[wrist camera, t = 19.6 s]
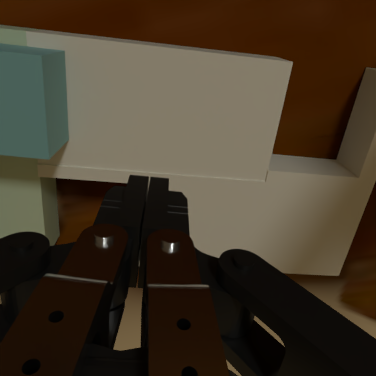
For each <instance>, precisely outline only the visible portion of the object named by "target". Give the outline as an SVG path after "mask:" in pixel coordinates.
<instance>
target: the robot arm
mask: <svg viewBox="0 0 376 376" xmlns="http://www.w3.org/2000/svg"><path fill="white" fill-rule="evenodd" d="M148 185H149V189H148ZM139 263H140V266H139ZM138 270H139V280H138V288H143V297H142V309H141V348H135V349H129V350H124V351H118V350H113V348H114V344H115V340H116V336H117V333H118V329H119V326H120V322H121V319H122V315H123V311H124V307H125V299H126V297H127V294H128V288H129V287H134V288H135V287H136V283H137V276H138ZM0 295H1V301H2V304H0V376H237V375H236V374H235V373H233V372H232V371H230V370H229V369H228V367H227V363H226V360H227V361H228V362H229V363H230V364H231V365H232V366H233V367H234V368H235V369H236V370H237V371H238V372H239V373H240V374H241V375H242V376H376V339H375V338H374V337H372V336H371V335H369V334H368V333H367V332H365V331H364V330H362V329H361V328H360V327H358V326H357V325H355V324H354V323H352V322H351V321H350V320H348V319H347V318H345V317H344V316H343V315H341V314H340V313H338V312H337V311H336V310H334V309H332V308H331V307H330V306H329V305H327V304H326V303H324V302H323V301H321V300H320V299H318V298H317V297H316V296H314V295H313V294H312V293H310V292H309V291H307V290H306V289H305V288H303V287H302V286H300V285H299V284H297V283H296V282H295V281H293V280H292V279H290V278H289V277H288V276H286V275H285V274H283V273H282V272H281V271H279V270H278V269H276V268H275V267H274V266H272V265H271V264H269V263H268V262H266V261H265V260H264V259H262V258H261V257H259V256H258V255H256V254H255V253H253V252H250V251H247V250H243V249H230V250H227V251H225V252H223V253H222V254H221V255H220V257H219V258H217V257H214V256H210V255H207V254H205V253H203V252H201V251H199V250H198V249H197V248H195V247H194V243H193V240H192V239H191V238H190V233H189V216H188V200H187V198H186V197H185V195H184V194H183V193H182V192H177V191H169V178H161V177H150V182H149V176H140V175H130V176H129V179H128V183H127V186H126V187H123V186H114V187H112V188H111V189H109V190H108V191H107V192H106V194H105V197H104V199H103V202H102V204H101V207H100V209H99V212H98V214H97V217H96V219H95V222H94V224H93V226H90V227H88V228H86V229H85V230H83V231H82V233H81V234H80V236H79V237H78V239H77V241H76V242H73V243H68V244H62V245H53V246H50V242H49V239H48V238H47V237H46V236H45V235H43V234H41V233H37V232H27V231H26V232H18V233H14V234H10V235H8V236H5V237H3V238H0ZM254 316H256V317H258V318H259V319H260V320H261V321H262V322H263V323H265V324H266V325H267V326H268V327H269V328H270V329H271V330H273V331H274V332H275V333H276V334H277V335H278V336H279V337H280V338H281V340H282V341H283V343H284V346H285V347H284V346H283V345H282V344H281V343H279V342H278V341H277V340H276V339H275V338H274V337H273V336H272V335H270V334H269V333H268V332H267V331H266V330H265V329H264V328H262V327H261V326H260V325H259V324H258V323H257V322H256V321H255V320H253V319H254Z"/></svg>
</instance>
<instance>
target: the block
mask: <svg viewBox="0 0 376 376" xmlns="http://www.w3.org/2000/svg"><path fill="white" fill-rule="evenodd" d="M68 140H69V131H68V109H67V88H66V66H65V51H63V50H54V49H46V48H37V47H28V46H20V45H11V44H3V43H0V155H5V156H16V157H26V158H37V159H47V160H49V159H50V158H51V157H52V156H53V155H54V154H55V153H56V152H57V151H58V150H59V149H60V148H61V147H62V146H63V145H64V144H65V143H66V142H67V141H68Z"/></svg>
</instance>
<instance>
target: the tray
mask: <svg viewBox="0 0 376 376" xmlns="http://www.w3.org/2000/svg"><path fill="white" fill-rule="evenodd" d="M0 43H3V44H11V45H20V46H28V47H37V48H46V49H54V50H63V51H65V66H66V88H67V109H68V131H69V140H68V141H67V142H66V143H65V144H64V145H63V146H62V147H61V148H60V149H59V150H58V151H57V152H56V153H55V154H54V155H53V156H52V157H51V158H50V159H49V160H47V159H37V158H26V157H16V156H5V155H0V238H3V237H5V236H8V235H10V234H14V233H18V232H26V231H27V232H37V233H41V234H43V235H45V236H46V237H47V238H48V239H49V242H50V246H53V245H55V243H56V241H57V239H58V237H59V220H58V205H57V191H56V178H63V179H77V180H90V181H104V182H117V183H128V179H129V176H130V175H140V176H149V182H150V177H161V178H169V191H177V192H182V193H183V194H184V195H185V197H186V198H187V200H188V216H189V233H190V238H191V239H192V240H193V243H194V247H195V248H197V249H198V250H199V251H201V252H203V253H205V254H207V255H210V256H214V257H217V258H219V257H220V255H221V254H222V253H223V252H225V251H227V250H230V249H243V250H247V251H250V252H253V253H255V254H256V255H258V256H259V257H261V258H262V259H264V260H265V261H266V262H268V263H269V264H271V265H272V266H274V267H275V268H276V269H278V270H279V271H281V272H282V273H289V274H309V275H329V276H330V275H331V276H339V274H340V271H341V269H342V266H343V263H344V261H345V258H346V256H347V253H348V251H349V248H350V246H351V243H352V240H353V238H354V235H355V233H356V230H357V228H358V225H359V222H360V220H361V217H362V215H363V212H364V210H365V207H366V205H367V202H368V199H369V197H370V194H371V192H372V189H373V187H374V184H375V181H376V69H375V68H366V69H365V72H364V75H363V79H362V82H361V85H360V88H359V91H358V94H357V97H356V100H355V103H354V106H353V109H352V113H351V116H350V119H349V122H348V125H347V128H346V131H345V134H344V137H343V140H342V143H341V147H340V150H339V153H338V156H337V159H336V160H333V159H322V158H310V157H298V156H287V155H275V154H272V150H273V146H274V142H275V137H276V133H277V129H278V124H279V120H280V116H281V112H282V107H283V103H284V99H285V94H286V90H287V86H288V81H289V77H290V73H291V68H292V64H293V62H291V61H288V60H285V59H281V58H278V57H272V56H263V55H255V54H246V53H238V52H229V51H220V50H212V49H203V48H195V47H186V46H178V45H169V44H160V43H152V42H143V41H135V40H126V39H117V38H109V37H100V36H92V35H83V34H75V33H66V32H57V31H49V30H40V29H32V28H23V27H14V26H6V25H0ZM148 189H149V185H148ZM139 266H140V263H139Z"/></svg>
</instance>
